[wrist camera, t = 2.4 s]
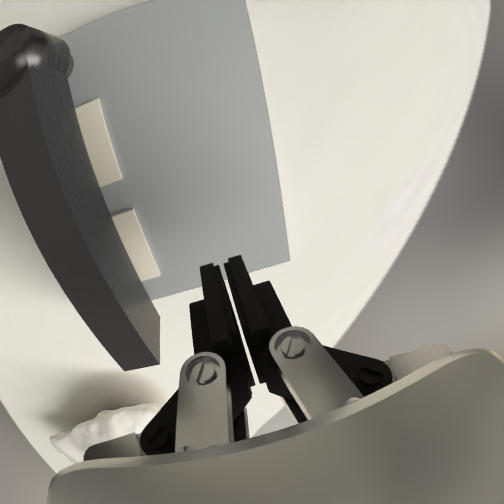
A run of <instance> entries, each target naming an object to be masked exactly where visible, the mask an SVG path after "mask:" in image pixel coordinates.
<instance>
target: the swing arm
mask: <svg viewBox="0 0 504 504" xmlns="http://www.w3.org/2000/svg"><path fill="white" fill-rule="evenodd" d="M69 63H70V49H69V46H68V45H67V43H66V42H65V41H64V40H62V39H60V38H58V37H56V36H53V35H51V34H48V33H45V32H43V31H40V30H37V29H35V28H32V27H29V26H26V25H23V24H14V25H11V26H8V27H6V28H5V29H3V30H2V31H0V157H1V160H2V163H3V166H4V169H5V172H6V175H7V178H8V180H9V183H10V186H11V188H12V191H13V193H14V196H15V198H16V201H17V203H18V206H19V208H20V210H21V213H22V215H23V217H24V219H25V221H26V224H27V226H28V228H29V230H30V232H31V234H32V236H33V238H34V240H35V242H36V244H37V246H38V248H39V250H40V251H41V253H42V255H43V257H44V259H45V261H46V262H47V264H48V266H49V268H50V269H51V271H52V273H53V274H54V276H55V278H56V279H57V281H58V283H59V284H60V286H61V288H62V289H63V291H64V292H65V294H66V295H67V297H68V298H69V300H70V301H71V303H72V304H73V306H74V307H75V309H76V310H77V312H78V313H79V315H80V316H81V317H82V319H83V320H84V322H85V323H86V324H87V326H88V327H89V328H90V330H91V331H92V332H93V334H94V335H95V336H96V338H97V339H98V340H99V341H100V343H101V344H102V345H103V346H104V348H105V349H106V350H107V351H108V353H109V354H110V355H111V356H112V357H113V359H114V360H115V361H116V362H117V363H118V364H119V366H120V367H121V368H122V369H123V370H124V371H128V370H134V369H139V368H144V367H149V366H154V365H159V364H160V316H159V314H158V312H157V311H156V309H155V307H154V305H153V303H152V301H151V300H150V298H149V296H148V294H147V292H146V290H145V288H144V286H143V284H142V282H141V280H140V278H139V276H138V274H137V272H136V270H135V268H134V266H133V264H132V262H131V260H130V258H129V256H128V253H127V251H126V249H125V247H124V245H123V243H122V240H121V238H120V236H119V234H118V231H117V229H116V227H115V224H114V222H113V220H112V217H111V215H110V212H109V210H108V207H107V205H106V202H105V200H104V197H103V195H102V192H101V189H100V187H99V184H98V181H97V178H96V176H95V173H94V170H93V167H92V164H91V161H90V158H89V155H88V152H87V149H86V146H85V143H84V139H83V136H82V133H81V129H80V126H79V122H78V119H77V115H76V111H75V107H74V103H73V99H72V95H71V91H70V86H69V82H68V77H67V70H68V67H69Z"/></svg>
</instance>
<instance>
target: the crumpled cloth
mask: <svg viewBox="0 0 504 504" xmlns="http://www.w3.org/2000/svg"><path fill="white" fill-rule="evenodd" d="M160 409H161V408H160V407H159V406H158V405H157V404H155V403H147V404H140V405H136V406H131V407H122V408H119V409H116V410H103V411H101V412H99V413H98V415H97V416H96V418H94V419H91V420H88V421H86V422H82V423H79V424H78V425H76V426H75V427H74V428H73V429H72V430H71V431H64V432H60V433H59V434H56V435H53V436H50V441H51V443H52V445H53V446H54V448H56V449H57V450H58V451H60V452H61V453H63V454H64V455H65V456H66V457H67V458H68V459H69V460H70V461H71V462H73V463H75V464H76V463H79V462H83V456H84V454H85V451H86V450H87V449H88V448H89V447H90V446H92V445H94V444H98V443H102V442H105V441H108V440H112V439H115V438H118V437H121V436H124V435H127V434H130V433H133V432H135V433H136V434H139V433H141V432H142V431H143V429H144V428H145V426H146V425H147V424H148V423H149V422H150V421H151V420H152V419H153V417H154V416H155V415H156V414H157V413H158V412H159V411H160Z"/></svg>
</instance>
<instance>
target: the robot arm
mask: <svg viewBox="0 0 504 504" xmlns="http://www.w3.org/2000/svg"><path fill="white" fill-rule="evenodd" d="M223 264H224V268H225V272H226V275H227V279H228V282H229V286H230V289H231V293H232V296H233V300H234V303H235V307H236V310H237V314H238V317H239V320H240V324H241V327H242V330H243V334H244V337H245V340H246V343H247V346H248V349H249V352H250V355H251V358H252V361H253V364H254V367H255V370H256V373H257V376H258V379H259V382H260V384H262V383H265V382H266V385H267V387H268V390H269V392H271V393H273V394H276V395H278V396H281V399H282V401H283V403H284V404H285V406H286V408H287V409H288V411H289V413H290V414H291V416H292V418H293V419H294V421H295V422H296V425H294V426H290V427H287V428H285V429H281V430H278V431H275V432H271V433H268V434H264V435H260V436H257V437H253V438H249V428H248V417H247V409H246V405H247V404H248V402H249V401H250V399H251V398H252V396H251V395H252V391H251V388H250V387H251V386H255V382H254V378H253V375H252V372H251V368H250V365H249V362H248V358H247V355H246V352H245V348H244V345H243V341H242V338H241V334H240V331H239V327H238V324H237V320H236V317H235V314H234V311H233V308H232V304H231V301H230V298H229V295H228V292H227V289H226V286H225V282H224V279H223V276H222V273H221V269H220V266H219V265H216V266H214V265H213V263H210V264H206V265H203V266H200V275H201V282H202V289H203V295H204V300H200V301H197V302H193V303H190V304H189V308H190V319H191V329H192V338H193V347H194V355H193V356H191V357H190V358H189V359H188V360H186V361H185V363H184V364H183V366H182V368H181V372H180V381H179V389H178V390H177V391H176V392H175V393H174V394H173V396H172V397H171V398H170V399H169V400H168V401H167V403H166V404H165V405H164V406H163V407H162V408H161V409H160V411H159V412H158V413H157V414H156V415H155V416H154V417H153V419H152V420H151V421H150V422H149V423H148V424H147V425H146V426H145V428H144V429H143V431H142V432H141V433H139V434H136V433H135V432H133V433H130V434H127V435H124V436H121V437H118V438H115V439H112V440H108V441H105V442H102V443H98V444H94V445H92V446H90V447H89V448H88V449H87V450H86V451H85V454H84V456H83V462H79V463H76V464H73V465H71V466H69V467H66V468H64V469H63V470H61V471H59V472H58V473H57V474H56V475H55V476H54V477H53V478H52V480H51V482H50V485H49V489H48V495H47V504H504V359H503V358H501V356H499V355H498V354H496V353H495V352H493V351H491V350H489V349H485V348H473V349H466V350H461V351H457V352H454V353H453V352H452V351H451V349H450V348H449V347H447V346H445V345H443V344H433V345H430V346H426V347H423V348H420V349H417V350H414V351H410V352H407V353H403V354H399V355H395V356H392V357H389V359H388V360H386V361H380V360H377V359H374V358H370V357H366V356H361V355H358V354H354V353H350V352H346V351H342V350H338V349H334V348H331V347H327V346H323V345H322V344H321V343H320V342H319V341H318V339H317V338H316V337H315V336H314V334H313V333H311V332H310V331H309V330H308V329H305V328H303V327H297V326H294V327H292V325H291V323H290V321H289V319H288V317H287V315H286V313H285V311H284V309H283V307H282V305H281V303H280V301H279V299H278V297H277V295H276V293H275V291H274V289H273V287H272V284H271V283H270V281H266V282H262V283H259V284H256V285H253V284H252V281H251V279H250V276H249V274H248V271H247V269H246V266H245V264H244V261H243V259H242V256H241V255H237V256H234V257H230V258H228V262H226V263H223Z"/></svg>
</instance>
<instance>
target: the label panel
mask: <svg viewBox="0 0 504 504" xmlns="http://www.w3.org/2000/svg"><path fill="white" fill-rule="evenodd" d="M60 39H62V40H64V41H65V42H66V43H67V45H68V46H69V49H70V63H69V67H68V70H67V77H68V82H69V86H70V91H71V95H72V99H73V103H74V107H75V111H76V115H77V119H78V122H79V126H80V129H81V133H82V136H83V139H84V143H85V146H86V149H87V152H88V155H89V158H90V161H91V164H92V167H93V170H94V173H95V176H96V178H97V181H98V184H99V187H100V189H101V192H102V195H103V197H104V200H105V202H106V205H107V207H108V210H109V212H110V215H111V217H112V220H113V222H114V224H115V227H116V229H117V231H118V234H119V236H120V238H121V240H122V243H123V245H124V247H125V249H126V251H127V253H128V256H129V258H130V260H131V262H132V264H133V266H134V268H135V270H136V272H137V274H138V276H139V278H140V280H141V282H142V284H143V286H144V288H145V290H146V292H147V294H148V296H149V298H150V300H154V299H158V298H161V297H165V296H169V295H172V294H176V293H180V292H183V291H187V290H190V289H194V288H197V287H201V286H202V282H201V275H200V266H203V265H206V264H210V263H213V265H214V266H216V265H219V266H220V269H221V273H222V276H223V279H224V280H226V279H227V275H226V272H225V268H224V264H223V263H226V262H228V258H230V257H234V256H237V255H241V256H242V259H243V261H244V264H245V266H246V269H247V271H248V273H250V272H253V271H257V270H260V269H263V268H267V267H270V266H274V265H277V264H280V263H284V262H287V261H290V255H289V247H288V239H287V232H286V224H285V217H284V209H283V202H282V195H281V188H280V182H279V175H278V169H277V162H276V156H275V150H274V143H273V137H272V131H271V126H270V120H269V114H268V108H267V103H266V97H265V92H264V87H263V81H262V76H261V71H260V66H259V61H258V56H257V51H256V46H255V42H254V37H253V32H252V28H251V23H250V18H249V14H248V10H247V5H246V1H245V0H153V1H150V2H146V3H143V4H140V5H136V6H133V7H130V8H127V9H124V10H122V11H119V12H116V13H113V14H111V15H108V16H106V17H103V18H101V19H98V20H96V21H94V22H91V23H89V24H87V25H85V26H83V27H80V28H78V29H76V30H74V31H72V32H70V33H68V34H66V35H64V36H62V37H61V38H60Z"/></svg>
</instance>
